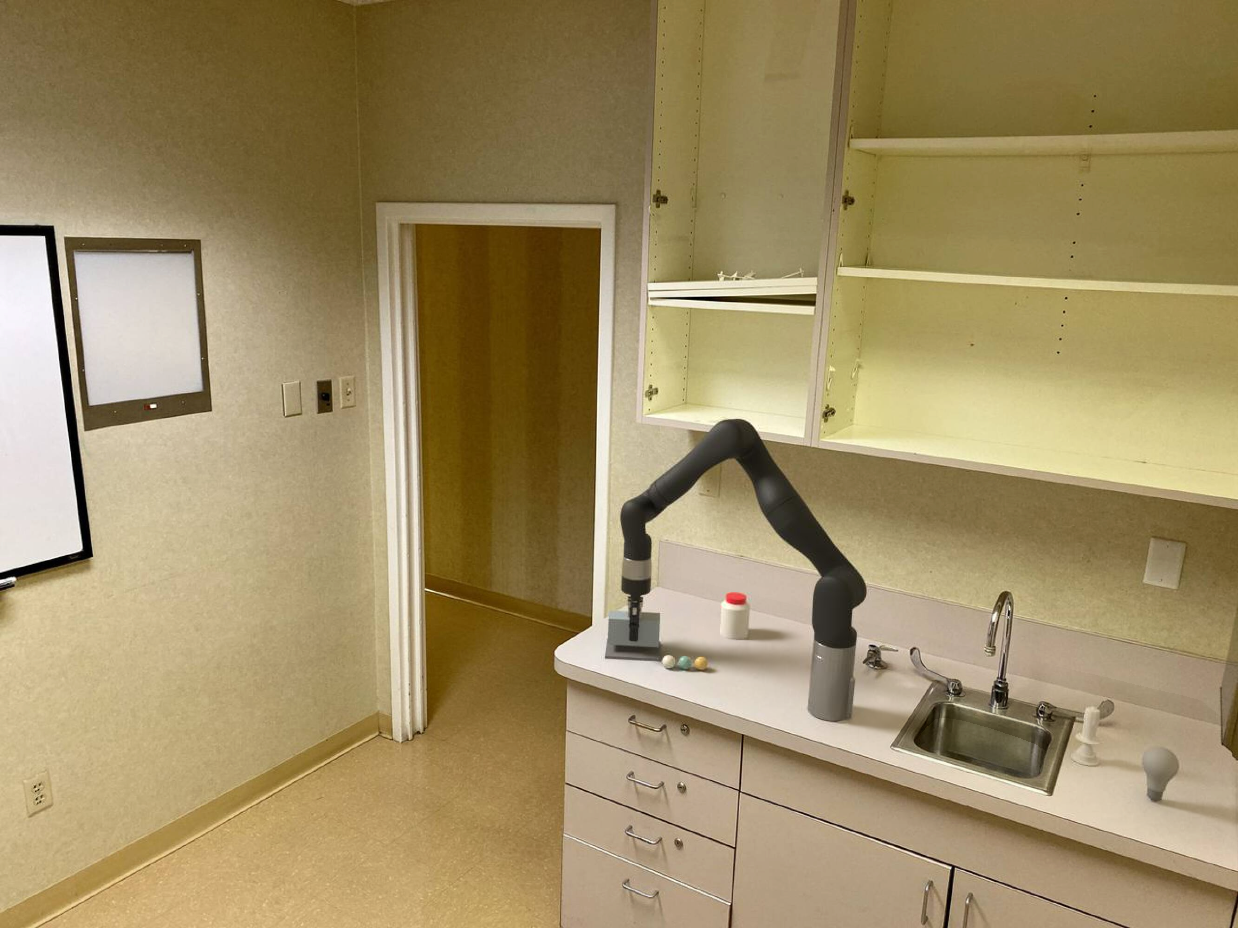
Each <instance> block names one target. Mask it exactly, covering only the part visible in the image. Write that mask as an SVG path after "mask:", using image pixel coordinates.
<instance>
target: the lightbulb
mask: <svg viewBox="0 0 1238 928" xmlns="http://www.w3.org/2000/svg"><path fill="white" fill-rule="evenodd" d="M1179 763H1180V762H1179V759H1178V757H1177V755H1175V753H1174V752H1173V751H1171V750H1170V749H1168V748H1166V747H1164V746H1158V745H1157V746H1152V747H1149V748H1148V749H1146V750H1145V751H1143V754H1142V756H1141V765H1142V768H1143V770H1144V772H1145V776H1146V787H1147V788H1146V797H1147V798H1148V799H1150V800H1151V801H1152V802H1159V801H1161V800H1162V799H1163V796H1164V795H1163V794H1164V792H1165V791H1166V789H1167V786H1168V784H1169V782H1170V780H1172V779H1173V778H1174V777H1176V775H1177V774H1178V772H1179V770H1180V764H1179Z"/></svg>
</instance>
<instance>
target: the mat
mask: <svg viewBox="0 0 1238 928" xmlns="http://www.w3.org/2000/svg"><path fill="white" fill-rule="evenodd" d="M604 659H611V660H612V659H615V660H631V661H645V662H646V661H649V662H651V661H652V662H661V641H660V640H659V647H646V646H627V645H608V638H607V639H606V646H605V652H604Z"/></svg>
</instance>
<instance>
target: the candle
mask: <svg viewBox="0 0 1238 928" xmlns="http://www.w3.org/2000/svg"><path fill="white" fill-rule="evenodd" d="M1100 714H1101V711H1100V709H1098V708H1097V707H1095V706H1094V705H1093V706H1087V707H1086V708H1085V711H1084V715H1083V726H1082V732H1079V733H1078V732H1077V733H1076V734H1075V739H1077V740H1078V741H1079V742H1081V745H1080V746H1079V747H1078V748H1076V749H1075V751H1074V752H1073V751H1072V753H1071V754H1070V757H1071V759H1072V760H1073V761H1074V762H1076V763H1078V764H1079V765H1082V766H1086V767H1096V766H1099V764H1100V760H1099V759H1098V758H1097V753H1095V752H1094V747H1093V746H1097V745H1100V744H1101V743H1102V741H1101V739H1100V738H1099V737H1098V736H1097V731H1098V726H1099V724H1100V716H1101V715H1100Z"/></svg>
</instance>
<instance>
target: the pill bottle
mask: <svg viewBox="0 0 1238 928" xmlns="http://www.w3.org/2000/svg"><path fill="white" fill-rule="evenodd" d="M750 610H751V605H750V603H748V601H747V595H746V594H744V593H741V592H732V591H731V592H727V593H726V595H725V599H724V600H723V601H722V602H721V604H720V619H719V634H720V636H721V637H723V638H725V639H727V640H736V641H737V640H743V639H744V640H745V639H746V638H747V637H748V636H749V625H750V623H749V622H750V614H751V612H750Z"/></svg>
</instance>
